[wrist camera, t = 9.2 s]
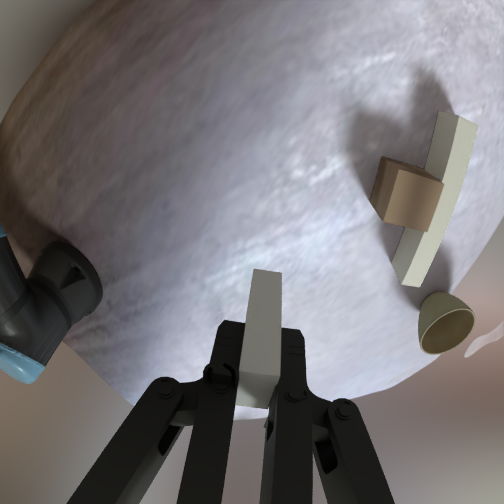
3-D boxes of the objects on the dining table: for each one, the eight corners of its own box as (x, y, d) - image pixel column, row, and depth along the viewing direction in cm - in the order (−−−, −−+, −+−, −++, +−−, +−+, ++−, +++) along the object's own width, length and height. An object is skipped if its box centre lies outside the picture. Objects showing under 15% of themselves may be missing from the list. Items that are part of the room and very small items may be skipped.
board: (390, 263, 38) (400, 284, 33) (437, 110, 26) (458, 115, 22) (408, 266, 38) (419, 287, 33) (456, 119, 26) (478, 125, 22)
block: (369, 201, 34) (382, 221, 29) (381, 156, 31) (398, 169, 25) (409, 211, 34) (427, 232, 28) (422, 168, 30) (444, 184, 25)
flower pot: (397, 318, 43) (408, 350, 37) (430, 271, 38) (448, 302, 32) (436, 329, 43) (448, 358, 37) (468, 287, 38) (486, 315, 32)
